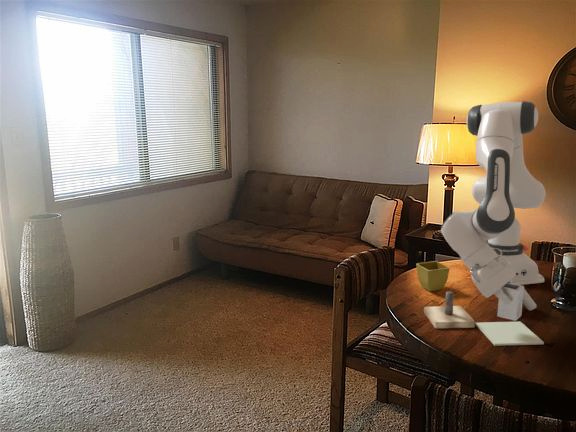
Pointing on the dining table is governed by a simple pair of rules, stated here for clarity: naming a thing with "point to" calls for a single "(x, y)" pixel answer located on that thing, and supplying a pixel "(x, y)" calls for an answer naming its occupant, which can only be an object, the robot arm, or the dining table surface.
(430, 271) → the flower pot
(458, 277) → the dining table surface
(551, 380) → the dining table surface
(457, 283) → the dining table surface
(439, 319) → the peg stand
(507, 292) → the steel sleeve
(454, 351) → the dining table surface
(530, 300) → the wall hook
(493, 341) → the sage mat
